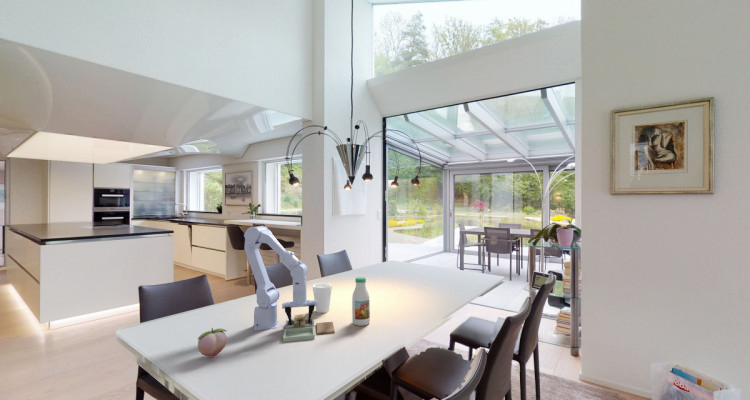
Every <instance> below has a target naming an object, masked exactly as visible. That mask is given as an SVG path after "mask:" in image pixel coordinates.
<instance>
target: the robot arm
mask: <svg viewBox="0 0 750 400" xmlns="http://www.w3.org/2000/svg"><path fill="white" fill-rule="evenodd" d="M243 237H244V248H243V249H244V252H245V254H246V257H247V260H248V263H249V266H250V269H251V272H252V274H253V277H254V280H255V284H256V286H257V287H256V290H255V295H256V303H257V305H258V306H255V307H254V311H253V331H259V330H260V331H261V330H271V329H278V326H279V323H280V322H279V320H278V300H279V299H280V292H279V290H278V289H277V288H276V287H275V284H274V283H273V282H272V281H271V280H270V277H269V275H268V272H267V269H266V266H265V264H264V260H263V257H262V255H261V253H260V247H261V245H262V244H266V245H268V246H269V247H270V248H271V249H272V250H273V251H274V252H275V253H276V254H277V256H279V261H280V262H281V263H282V264H283V266H285V267H286V268H287V270H288V271H290V273H289V274H290V276H291V278H292V301H288V302H282V304H281V309H283V310H284V313H285V314H286V317H287V319H288V321H289V323H290V325H292V320H293V319H292V309H293V308H301V307H302V308H303V307H308V317H307V319H308V324H310V319H312V315H313V313H314V311H315V306H317V300H315V301H314V300H308V299H307V275H308V272H309V267H308V265H307V263H306V262H302V260H300V259H298V257H297V256H295V252H293V251H291V250H286V249H285V248H284V246H283V245H282V244H281V243H280V242H279V240H277V238H276V237H275V236H274V234H273V233H272V231H271V230H270V229H269V228H268V227H267V226H265V225H258V226H250V227H248V228H247V229H246V231H245V232H244V234H243Z"/></svg>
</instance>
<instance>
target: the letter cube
mask: <svg viewBox="0 0 750 400" xmlns="http://www.w3.org/2000/svg"><path fill="white" fill-rule="evenodd" d="M305 319H306V314H305V313H303V314H294V319H293V320H294V327H297V326H305Z"/></svg>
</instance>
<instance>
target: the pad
mask: <svg viewBox="0 0 750 400" xmlns="http://www.w3.org/2000/svg"><path fill="white" fill-rule="evenodd" d="M335 332H336V331H335V325H334V322H333V321H328V322H327V321H326V322H325V321H324V322H316V335H319V336H321V335H330V334H335Z"/></svg>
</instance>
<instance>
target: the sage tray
mask: <svg viewBox="0 0 750 400" xmlns="http://www.w3.org/2000/svg"><path fill="white" fill-rule="evenodd" d="M315 331H316V330H315V326H314V327H303V328H292V329H285V328H284V331H283V337H282V342H283V343H288V342H289V343H290V342H299V341H309V340H315V338H316V336H315V335H316V334H315V333H316V332H315Z"/></svg>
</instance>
